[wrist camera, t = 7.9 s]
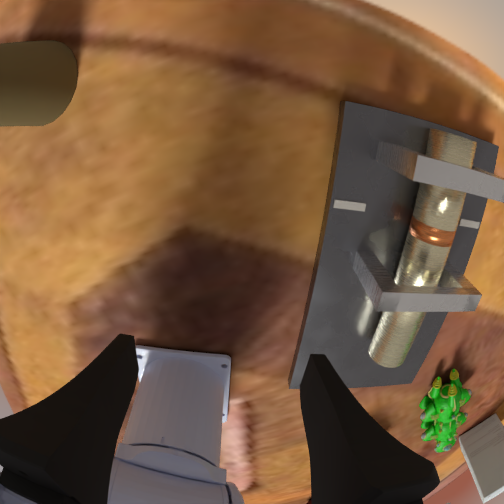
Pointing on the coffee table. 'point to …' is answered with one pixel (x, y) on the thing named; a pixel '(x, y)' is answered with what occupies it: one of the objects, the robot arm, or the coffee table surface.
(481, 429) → the supplement box
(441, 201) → the brass tube
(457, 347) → the coffee table surface
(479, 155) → the collar base
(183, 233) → the coffee table surface
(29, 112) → the cork
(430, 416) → the green bumpy long piece
